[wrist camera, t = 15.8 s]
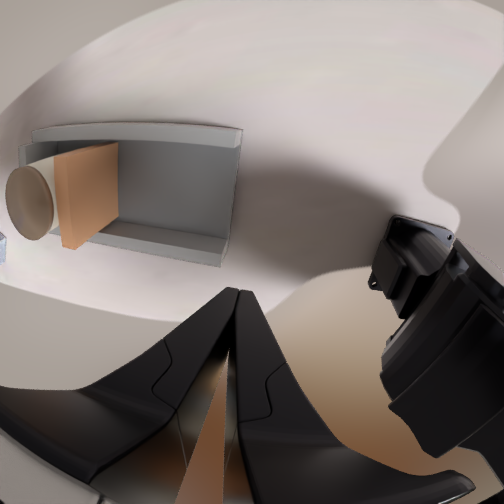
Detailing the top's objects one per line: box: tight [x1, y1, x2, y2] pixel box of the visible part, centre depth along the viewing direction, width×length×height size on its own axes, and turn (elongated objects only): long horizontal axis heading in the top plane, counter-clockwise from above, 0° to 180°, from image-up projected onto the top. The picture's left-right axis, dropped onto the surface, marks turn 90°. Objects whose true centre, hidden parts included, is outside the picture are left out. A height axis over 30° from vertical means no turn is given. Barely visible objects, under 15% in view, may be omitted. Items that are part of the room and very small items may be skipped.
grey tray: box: [19, 122, 243, 267], centre depth 18 cm, size 17×9×5 cm, turn 82°
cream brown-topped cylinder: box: [5, 148, 81, 240], centre depth 16 cm, size 5×5×7 cm
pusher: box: [54, 142, 119, 250], centre depth 16 cm, size 1×6×6 cm, turn 172°
